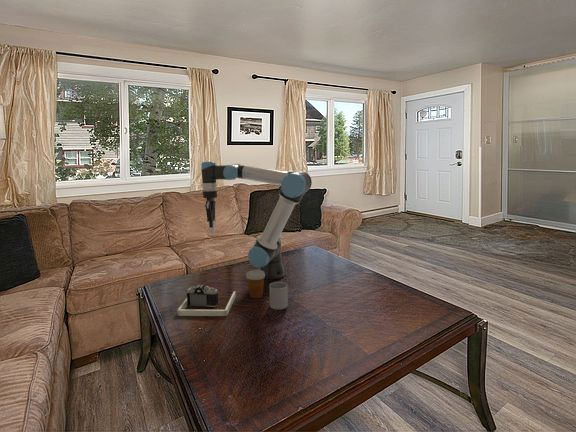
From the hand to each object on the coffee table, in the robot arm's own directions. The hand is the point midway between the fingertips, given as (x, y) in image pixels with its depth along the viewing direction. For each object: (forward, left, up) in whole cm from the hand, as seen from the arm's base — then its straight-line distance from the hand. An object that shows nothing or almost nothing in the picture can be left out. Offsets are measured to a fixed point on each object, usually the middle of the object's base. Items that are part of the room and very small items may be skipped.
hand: (212, 232), depth 194 cm
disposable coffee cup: (-27, +24, -27) cm, 45 cm away
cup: (-39, +35, -27) cm, 59 cm away
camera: (-4, +33, -27) cm, 43 cm away
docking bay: (-6, +35, -26) cm, 44 cm away
